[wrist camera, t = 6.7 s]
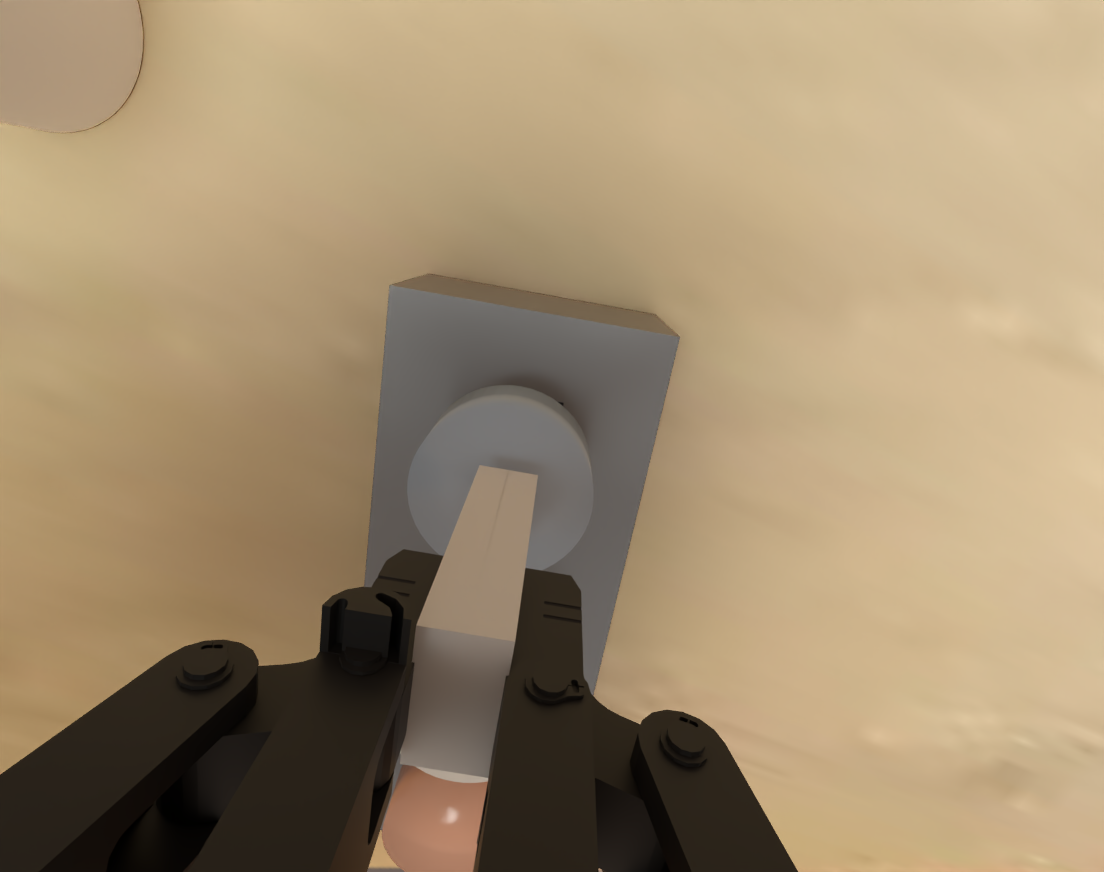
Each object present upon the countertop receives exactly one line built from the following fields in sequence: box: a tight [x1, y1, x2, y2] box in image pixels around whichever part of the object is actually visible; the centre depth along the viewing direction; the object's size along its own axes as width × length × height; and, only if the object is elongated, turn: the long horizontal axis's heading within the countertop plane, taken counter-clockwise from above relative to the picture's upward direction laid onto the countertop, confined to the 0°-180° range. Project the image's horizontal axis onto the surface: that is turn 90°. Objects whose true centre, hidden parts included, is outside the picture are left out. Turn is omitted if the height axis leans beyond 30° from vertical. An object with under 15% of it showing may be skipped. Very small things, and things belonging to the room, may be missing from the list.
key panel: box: [364, 274, 680, 830], centre depth 27 cm, size 10×25×6 cm, turn 170°
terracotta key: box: [382, 765, 488, 872], centre depth 27 cm, size 5×5×7 cm
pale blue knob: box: [407, 385, 594, 570], centre depth 20 cm, size 5×5×7 cm
